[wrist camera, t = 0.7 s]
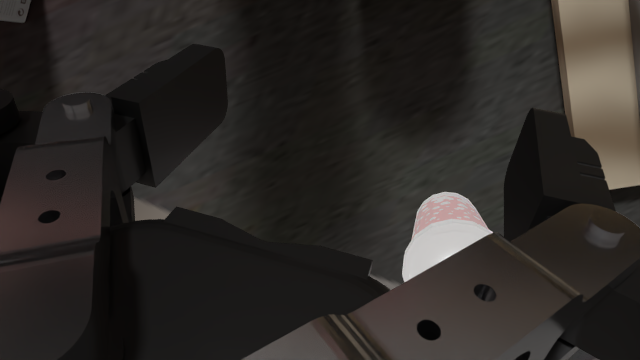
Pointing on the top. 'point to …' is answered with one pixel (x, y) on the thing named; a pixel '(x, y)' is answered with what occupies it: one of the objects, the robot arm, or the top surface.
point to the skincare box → (14, 10)
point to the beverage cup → (441, 232)
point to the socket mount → (602, 80)
